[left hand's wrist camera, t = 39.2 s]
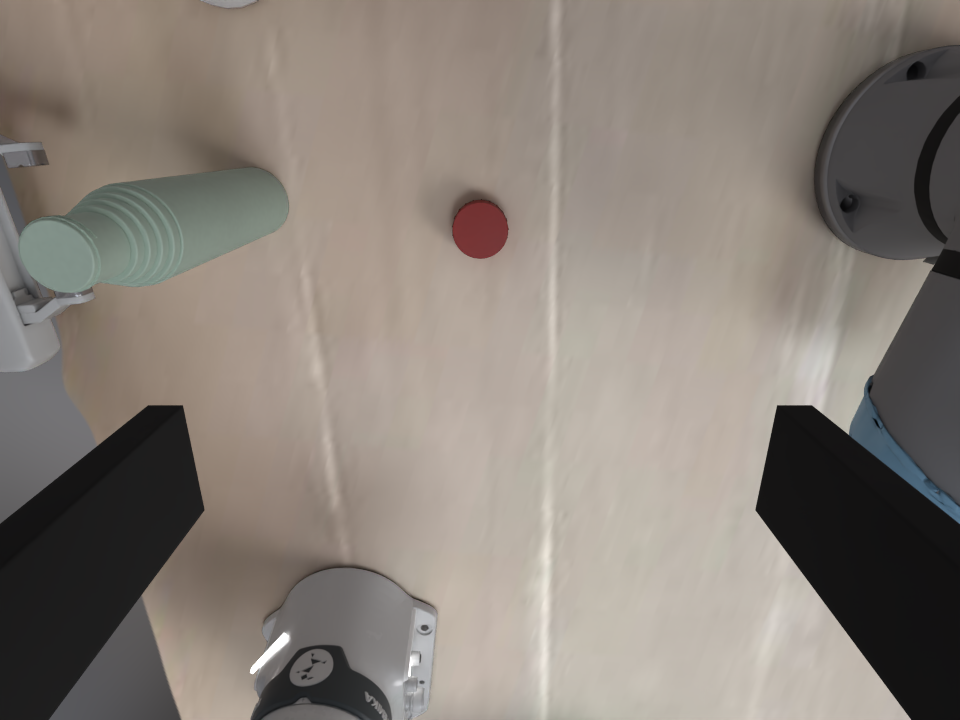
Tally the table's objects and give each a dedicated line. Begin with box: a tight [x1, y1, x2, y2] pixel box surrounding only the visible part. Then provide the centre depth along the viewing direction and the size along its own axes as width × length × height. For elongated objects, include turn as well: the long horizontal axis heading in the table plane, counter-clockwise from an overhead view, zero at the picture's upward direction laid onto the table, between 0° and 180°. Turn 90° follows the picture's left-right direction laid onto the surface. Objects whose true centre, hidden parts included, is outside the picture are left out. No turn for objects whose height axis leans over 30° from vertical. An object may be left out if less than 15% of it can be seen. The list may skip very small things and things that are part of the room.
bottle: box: [18, 167, 289, 293], centre depth 35 cm, size 5×5×23 cm
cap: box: [452, 199, 509, 259], centre depth 46 cm, size 4×4×2 cm
